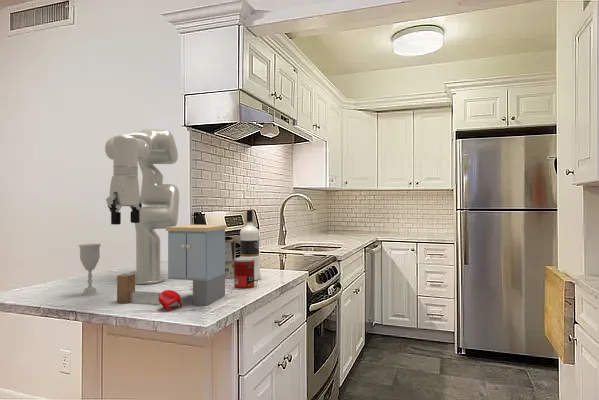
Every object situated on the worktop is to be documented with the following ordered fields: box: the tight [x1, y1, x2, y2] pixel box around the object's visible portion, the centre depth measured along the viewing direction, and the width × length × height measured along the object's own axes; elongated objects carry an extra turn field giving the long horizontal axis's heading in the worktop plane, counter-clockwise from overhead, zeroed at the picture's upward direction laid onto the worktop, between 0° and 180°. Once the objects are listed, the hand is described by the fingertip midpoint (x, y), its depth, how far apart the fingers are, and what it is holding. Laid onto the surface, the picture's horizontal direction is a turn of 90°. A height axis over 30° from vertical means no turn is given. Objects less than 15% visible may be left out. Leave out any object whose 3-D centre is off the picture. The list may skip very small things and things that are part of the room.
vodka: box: [239, 209, 262, 282], centre depth 172 cm, size 9×9×30 cm
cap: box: [158, 289, 183, 312], centre depth 125 cm, size 8×6×6 cm
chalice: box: [78, 243, 102, 297], centre depth 145 cm, size 7×7×18 cm
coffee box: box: [225, 239, 237, 279], centre depth 178 cm, size 9×6×16 cm
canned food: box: [233, 257, 255, 290], centre depth 157 cm, size 8×8×11 cm
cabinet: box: [165, 224, 228, 306], centre depth 136 cm, size 15×16×25 cm
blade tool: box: [116, 273, 162, 306], centre depth 133 cm, size 15×4×9 cm, turn 76°
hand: (125, 223), depth 134 cm, fingers open, 9 cm apart
